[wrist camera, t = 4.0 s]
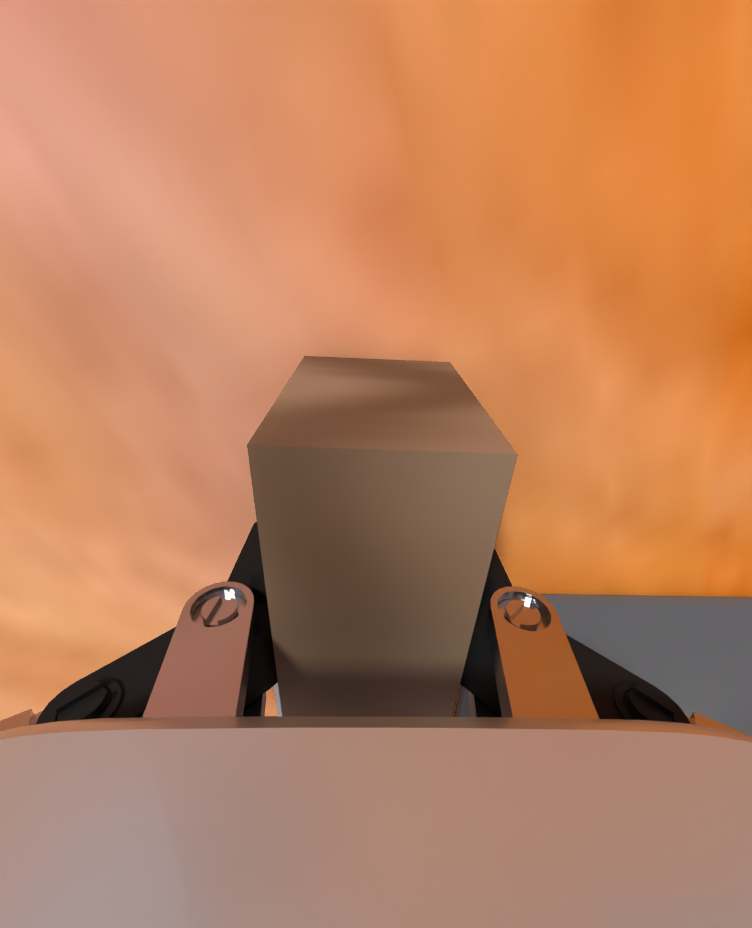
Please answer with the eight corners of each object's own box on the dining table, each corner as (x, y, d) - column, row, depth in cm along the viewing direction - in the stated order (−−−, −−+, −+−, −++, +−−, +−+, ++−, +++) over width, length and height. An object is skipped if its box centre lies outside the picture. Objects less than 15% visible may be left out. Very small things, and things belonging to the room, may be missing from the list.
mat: (863, 599, 14) (876, 607, 14) (687, 818, 21) (693, 827, 20) (481, 593, 13) (484, 601, 13) (432, 819, 20) (433, 829, 20)
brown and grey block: (517, 365, 10) (640, 458, 5) (436, 729, 18) (458, 887, 13) (234, 353, 9) (115, 440, 5) (283, 728, 17) (254, 887, 13)
